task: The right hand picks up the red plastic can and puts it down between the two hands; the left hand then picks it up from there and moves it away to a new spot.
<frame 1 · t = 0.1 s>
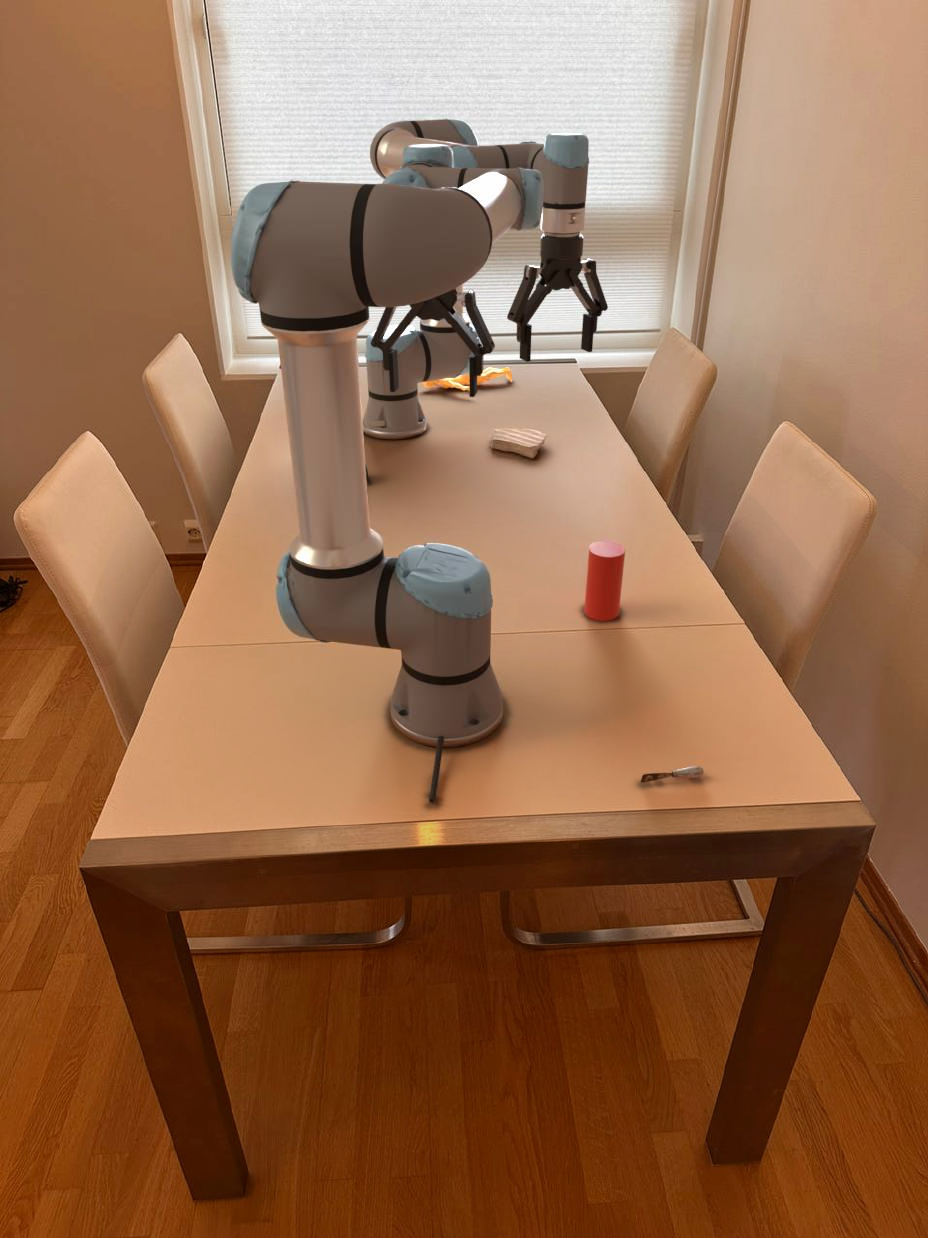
left hand: (556, 355, 168), 28 cm above the table, tool pointing down, fingers open, 13 cm apart
right hand: (433, 392, 149), 28 cm above the table, tool pointing down, fingers open, 13 cm apart
human figure: (467, 385, 243), on the table
can: (601, 611, 143), on the table
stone: (518, 448, 203), on the table
putty knife: (671, 781, 109), on the table
handgun: (343, 493, 182), on the table
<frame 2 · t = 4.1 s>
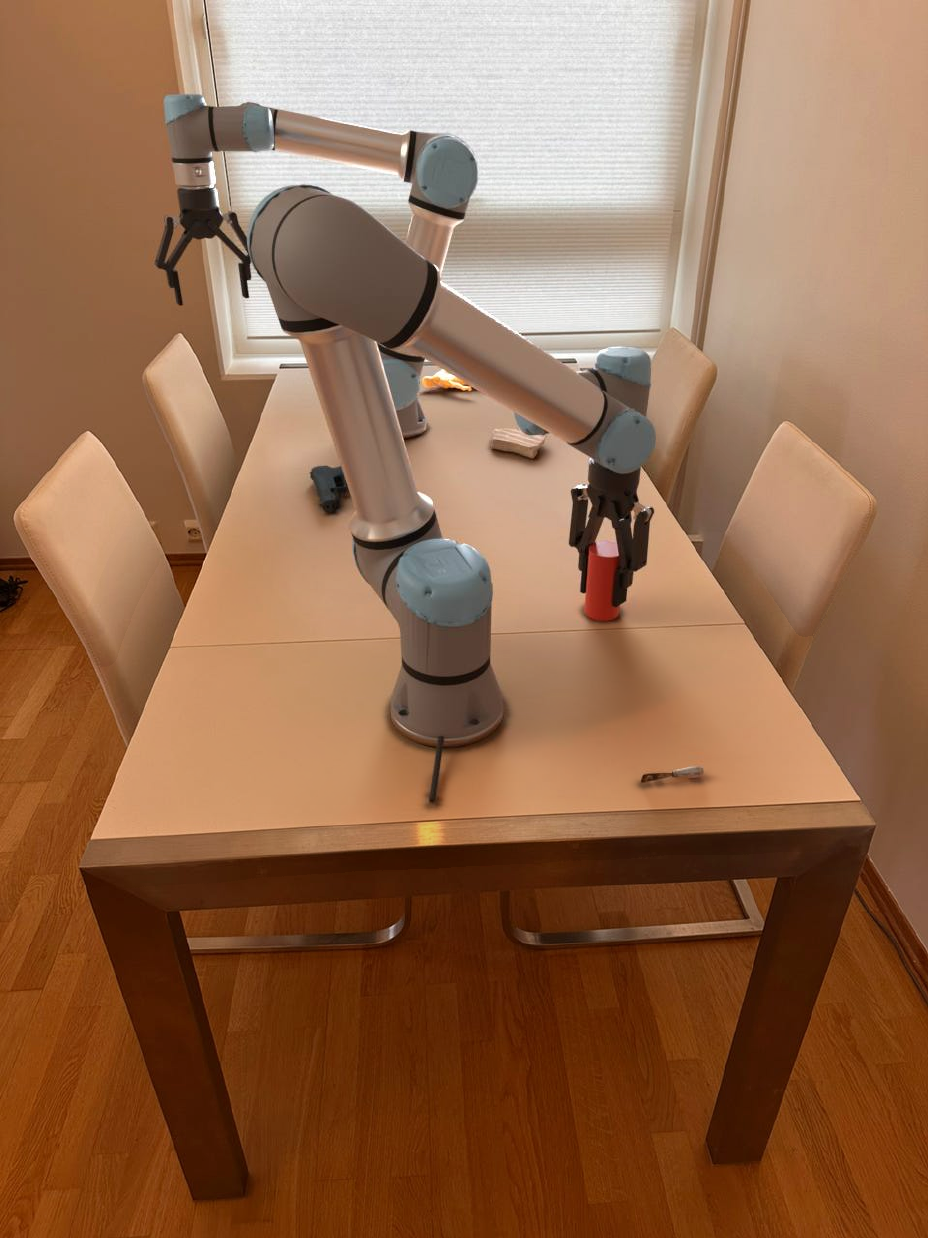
left hand: (213, 300, 184), 33 cm above the table, tool pointing down, fingers open, 13 cm apart
right hand: (602, 596, 141), 3 cm above the table, tool pointing down, fingers closed on can, 5 cm apart
can: (601, 611, 143), on the table, touching right hand
everything else where it was.
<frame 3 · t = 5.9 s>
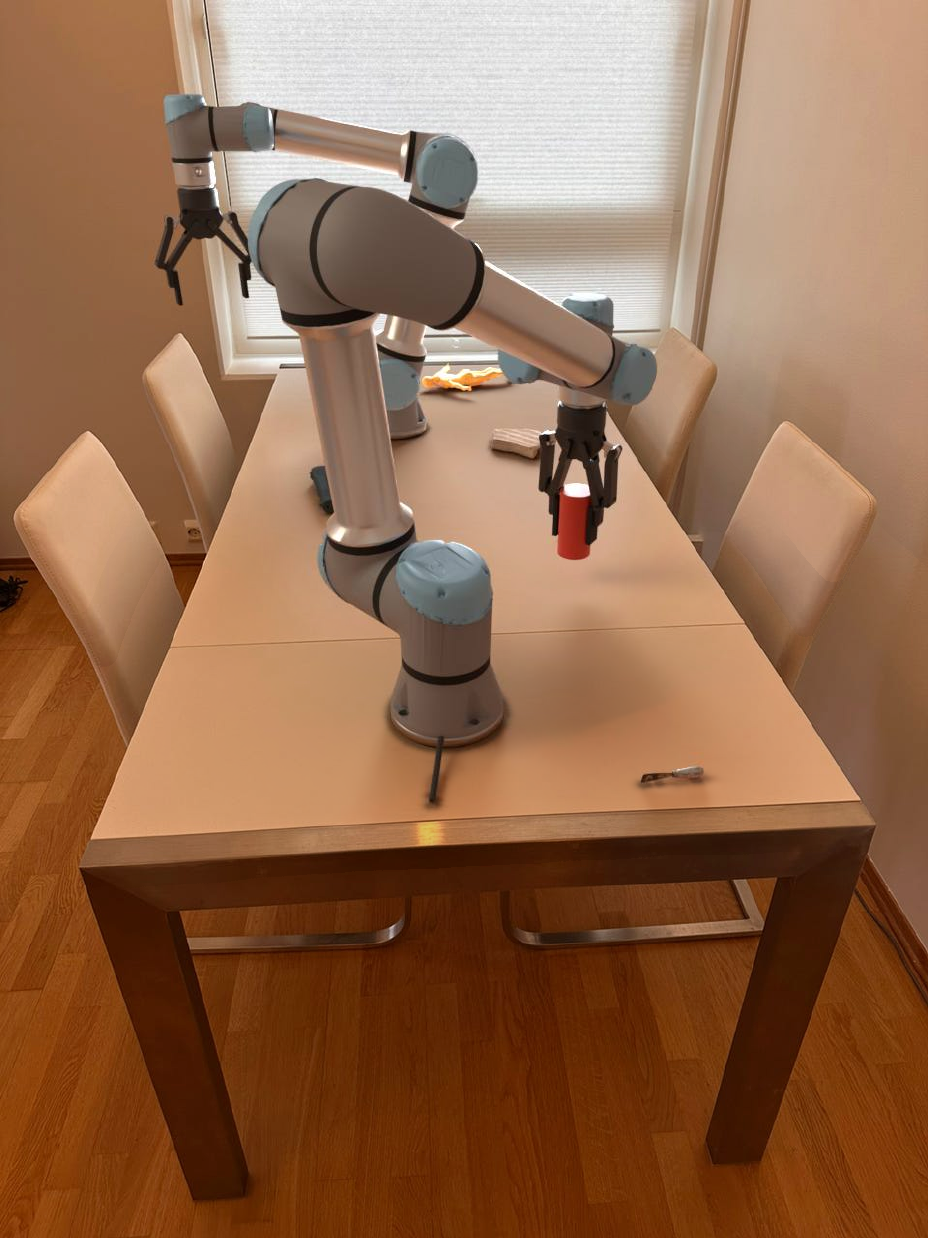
left hand: (213, 300, 184), 33 cm above the table, tool pointing down, fingers open, 13 cm apart
right hand: (574, 536, 148), 8 cm above the table, tool pointing down, fingers closed on can, 5 cm apart
can: (573, 552, 150), point 5 cm above the table, touching right hand
everything else where it was.
when the right hand's fingers open (5 cm above the table, at t = 8.0 s): can drops 2 cm, on the table.
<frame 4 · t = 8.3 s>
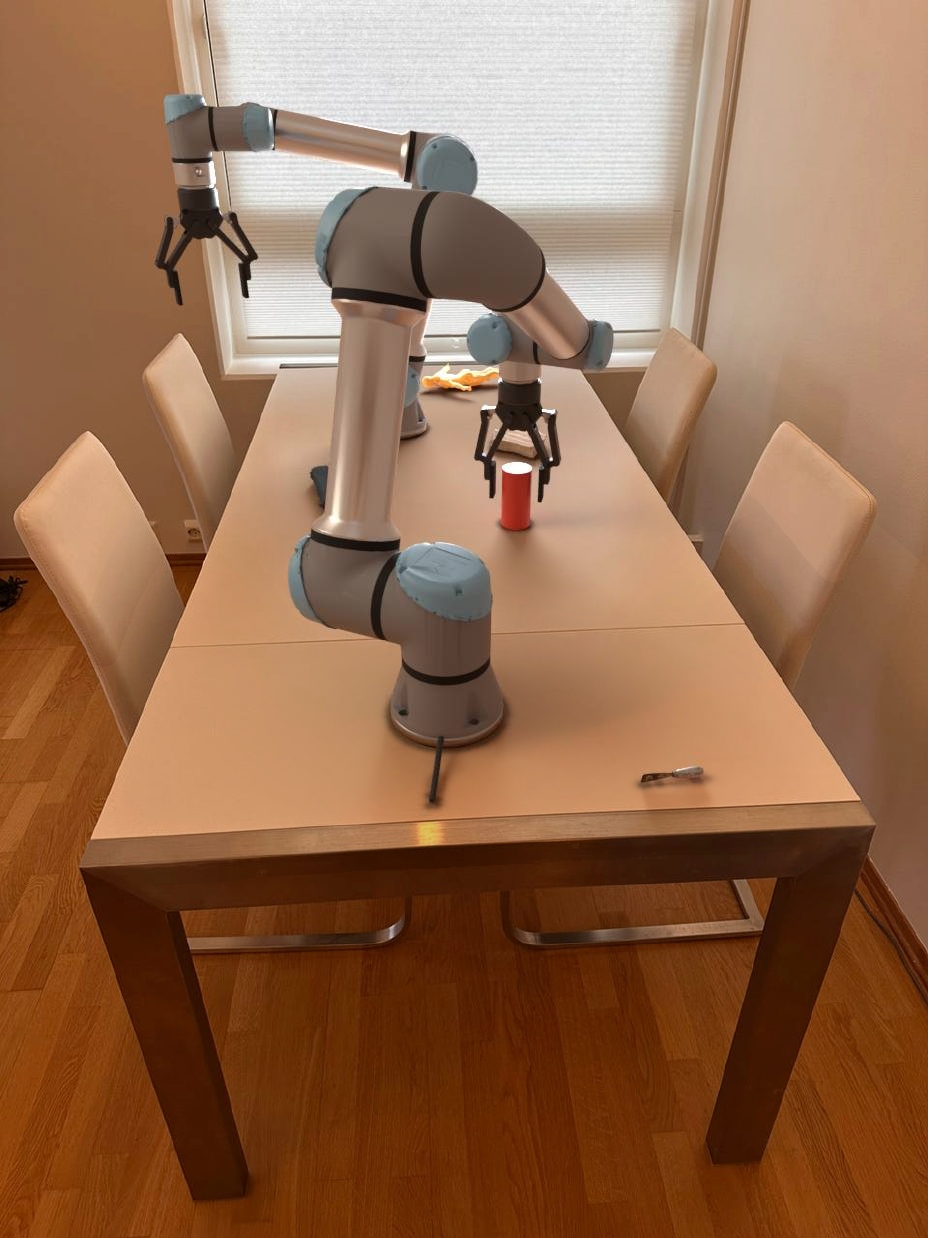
left hand: (213, 300, 184), 33 cm above the table, tool pointing down, fingers open, 13 cm apart
right hand: (516, 497, 167), 5 cm above the table, tool pointing down, fingers open, 8 cm apart
can: (515, 523, 170), on the table
everything else where it was.
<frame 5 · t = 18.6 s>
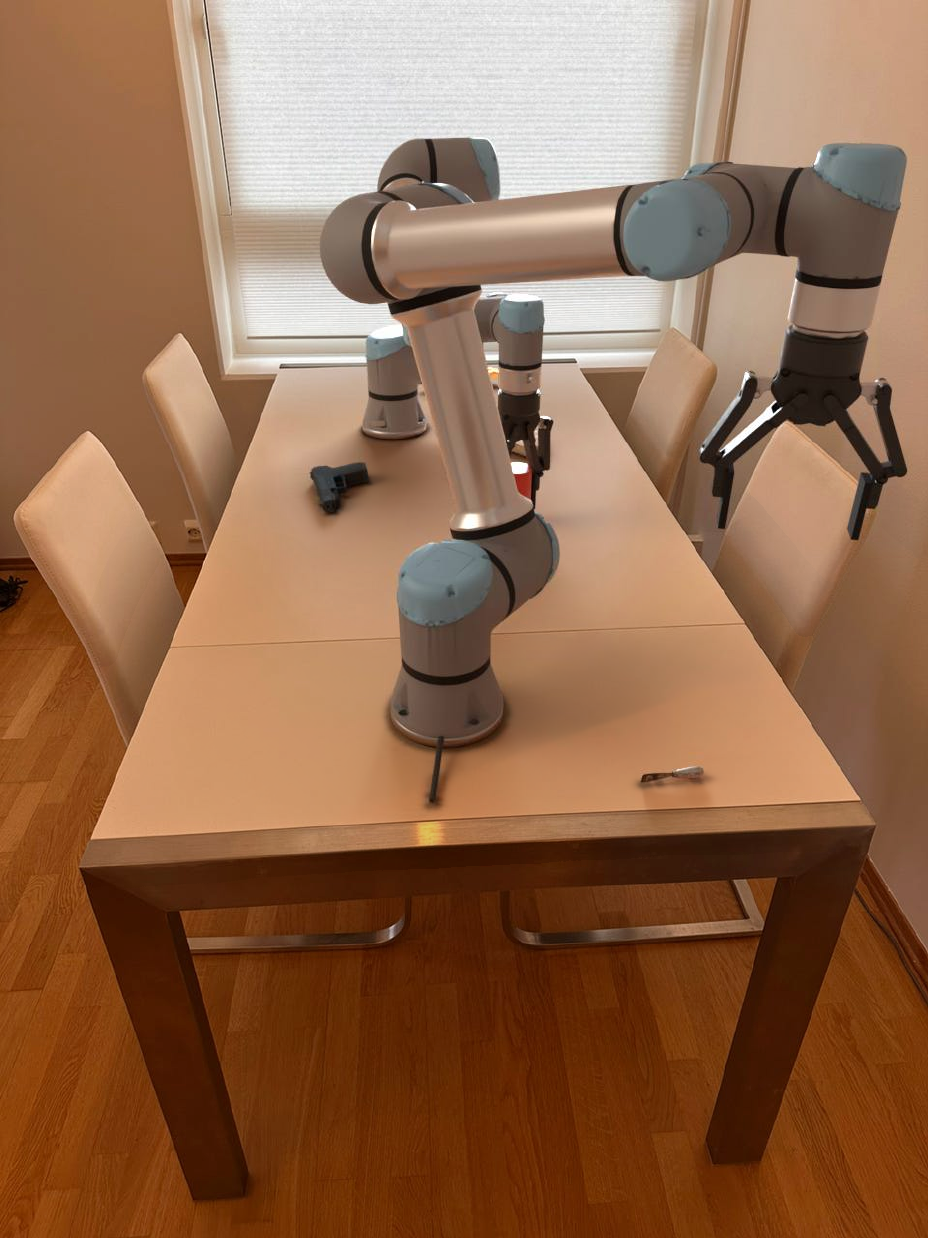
left hand: (515, 509, 169), 3 cm above the table, tool pointing down, fingers closed on can, 5 cm apart
right hand: (785, 529, 96), 32 cm above the table, tool pointing down, fingers open, 13 cm apart
can: (515, 523, 170), on the table, touching left hand
everything else where it was.
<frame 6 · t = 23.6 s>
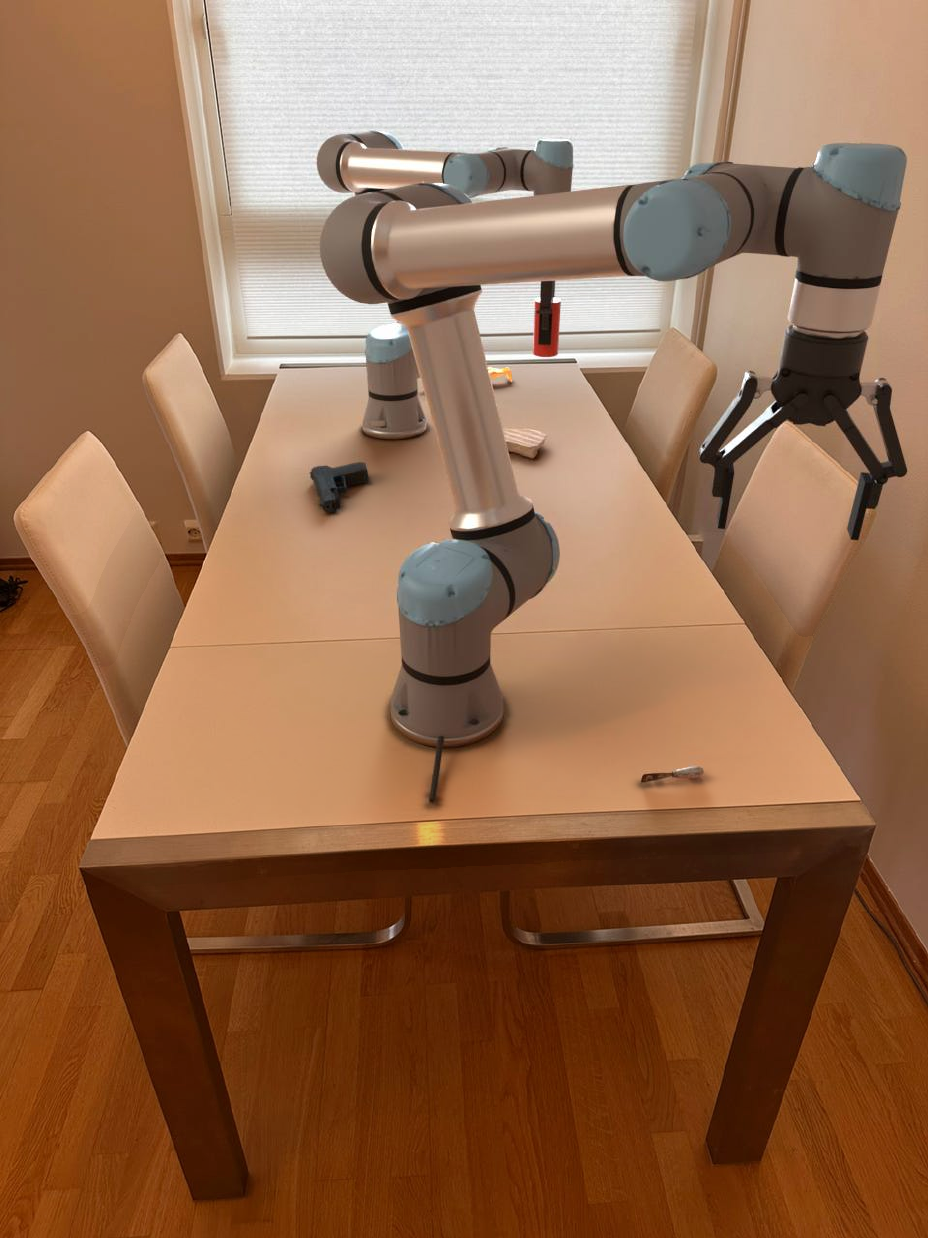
left hand: (545, 340, 194), 23 cm above the table, tool pointing down, fingers closed on can, 5 cm apart
right hand: (785, 529, 96), 32 cm above the table, tool pointing down, fingers open, 13 cm apart
can: (545, 353, 196), point 20 cm above the table, touching left hand
everything else where it was.
when the left hand's fingers open (5 cm above the table, at t = 28.9 s): can drops 2 cm, on the table.
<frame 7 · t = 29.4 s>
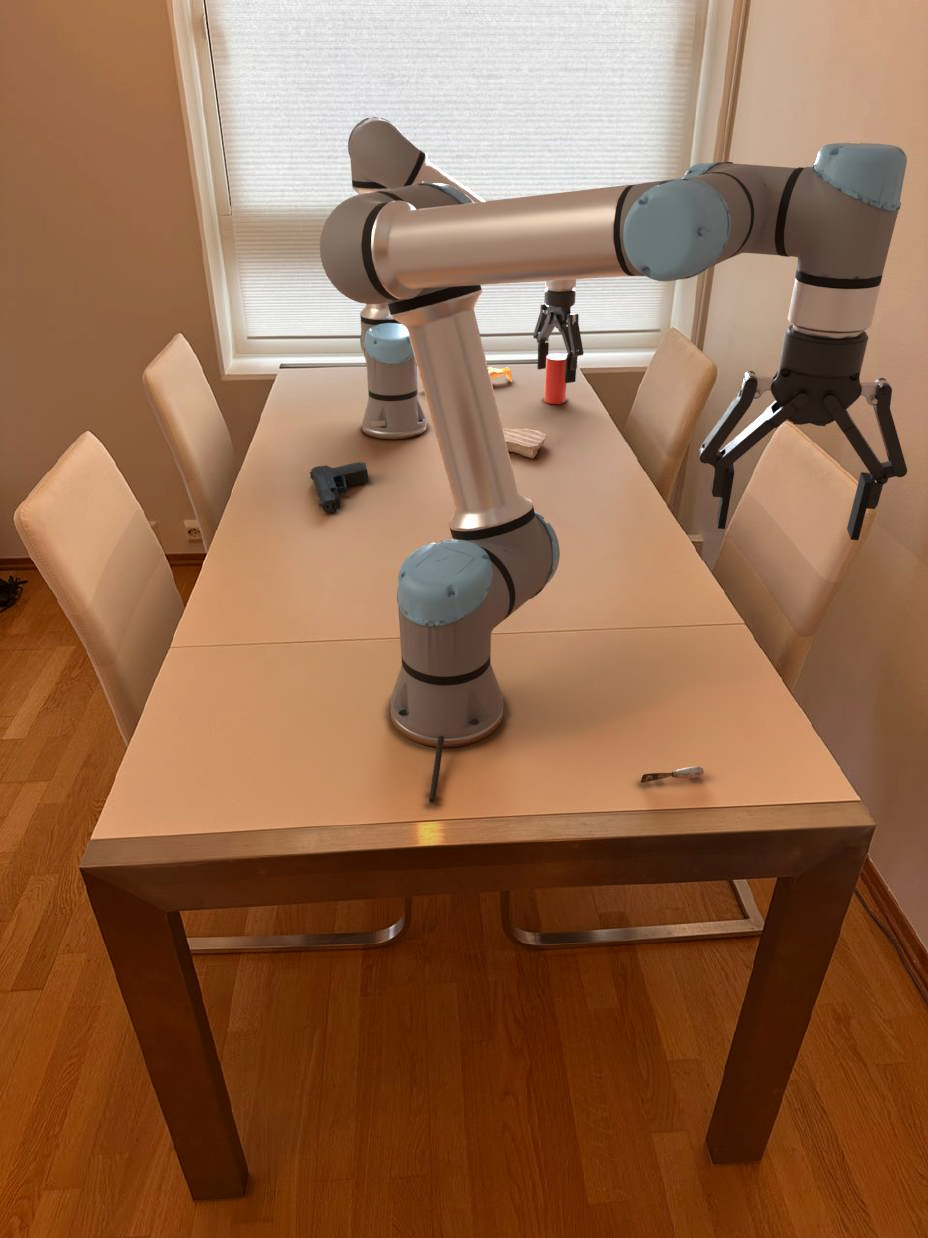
left hand: (555, 375, 228), 7 cm above the table, tool pointing down, fingers open, 13 cm apart
right hand: (785, 529, 96), 32 cm above the table, tool pointing down, fingers open, 13 cm apart
can: (554, 400, 232), on the table
everything else where it was.
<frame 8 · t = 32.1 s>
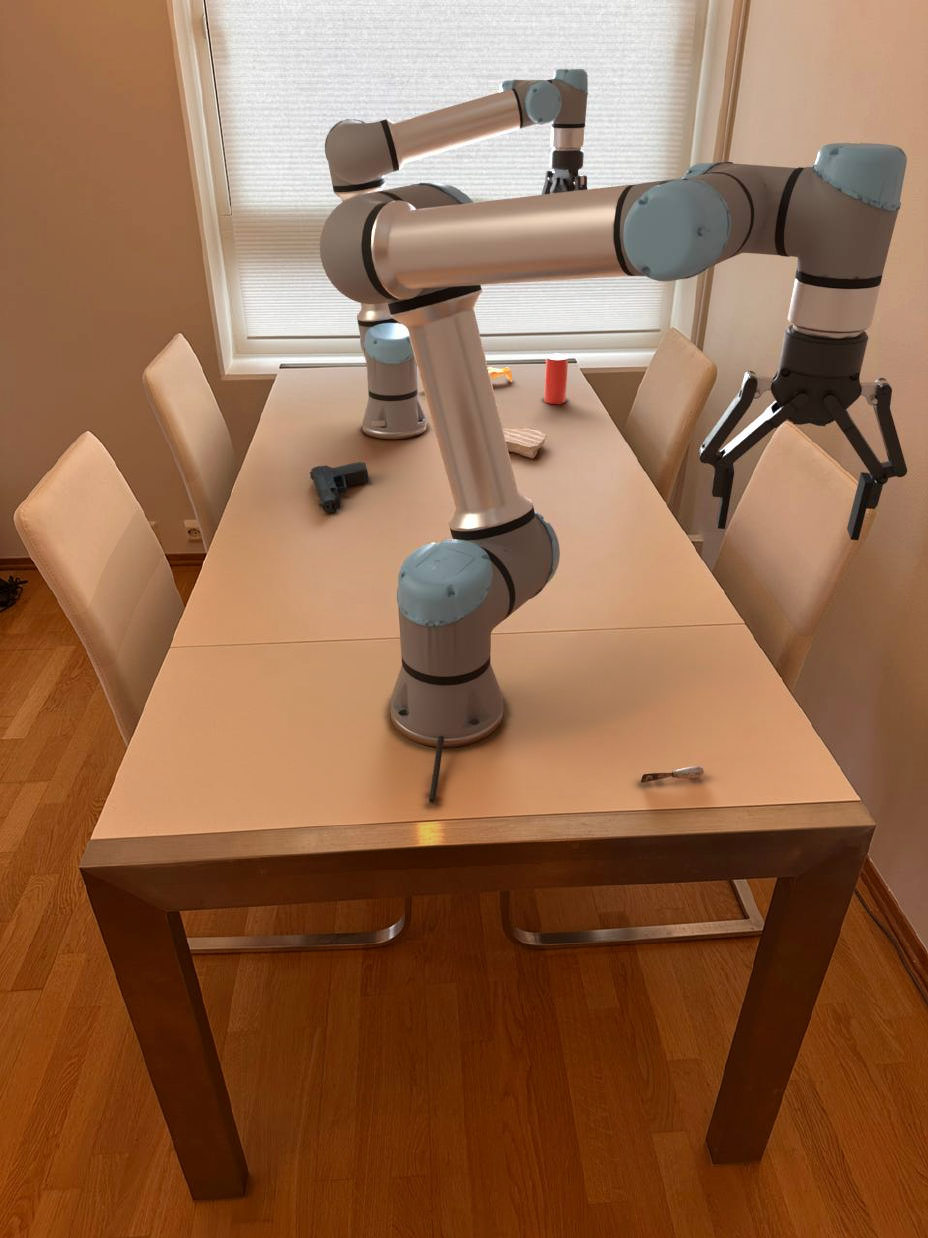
left hand: (562, 249, 212), 37 cm above the table, tool pointing down, fingers open, 13 cm apart
right hand: (785, 529, 96), 32 cm above the table, tool pointing down, fingers open, 13 cm apart
nothing on the table moved.
at the end: can inside the target area (0.1 cm from its centre), on the table; can tilted 0°; the two hands never held the can at the same time; the left hand is holding nothing; the right hand is holding nothing; can at rest at the end (0.0 cm/s) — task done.
